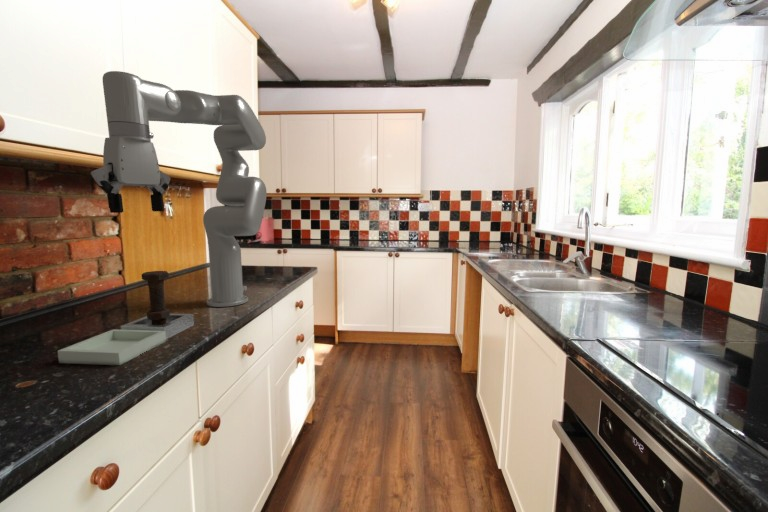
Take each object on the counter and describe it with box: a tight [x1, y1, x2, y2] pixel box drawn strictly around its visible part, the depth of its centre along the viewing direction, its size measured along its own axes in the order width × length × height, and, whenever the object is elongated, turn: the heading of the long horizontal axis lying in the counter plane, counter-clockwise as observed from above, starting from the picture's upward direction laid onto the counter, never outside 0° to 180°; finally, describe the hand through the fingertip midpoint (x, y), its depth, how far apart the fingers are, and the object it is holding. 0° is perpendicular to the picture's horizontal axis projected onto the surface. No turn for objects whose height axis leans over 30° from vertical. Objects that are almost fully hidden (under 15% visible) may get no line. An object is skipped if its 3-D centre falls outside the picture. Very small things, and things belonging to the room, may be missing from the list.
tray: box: [57, 328, 167, 366], centre depth 76 cm, size 13×13×2 cm
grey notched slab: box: [120, 312, 195, 340], centre depth 89 cm, size 11×11×3 cm
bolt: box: [141, 270, 170, 325], centre depth 88 cm, size 6×5×15 cm
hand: (138, 211), depth 81 cm, fingers open, 9 cm apart
